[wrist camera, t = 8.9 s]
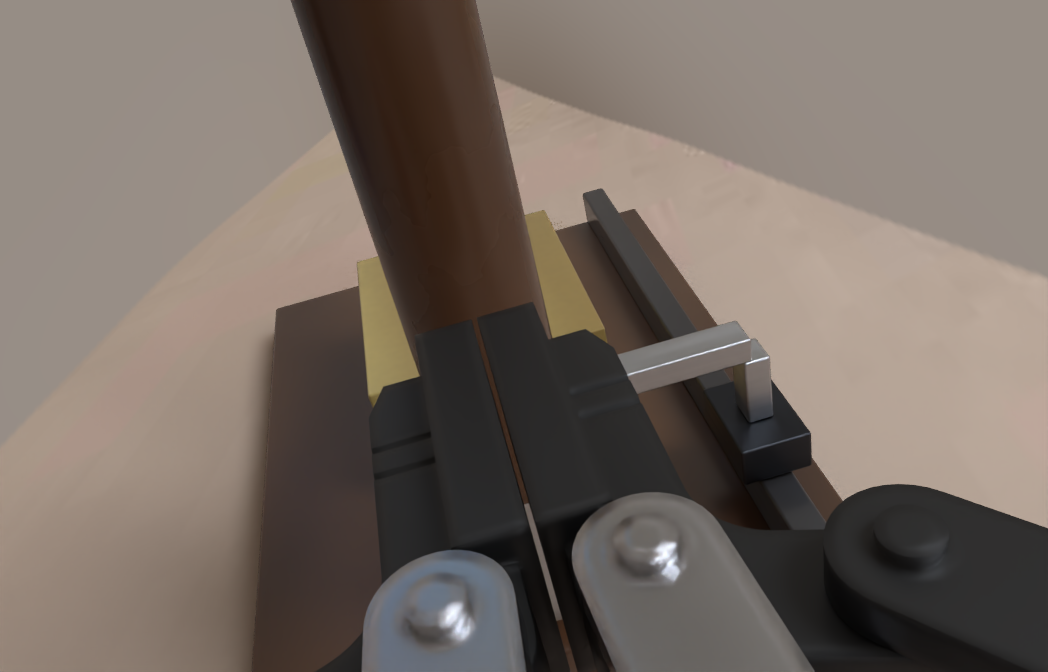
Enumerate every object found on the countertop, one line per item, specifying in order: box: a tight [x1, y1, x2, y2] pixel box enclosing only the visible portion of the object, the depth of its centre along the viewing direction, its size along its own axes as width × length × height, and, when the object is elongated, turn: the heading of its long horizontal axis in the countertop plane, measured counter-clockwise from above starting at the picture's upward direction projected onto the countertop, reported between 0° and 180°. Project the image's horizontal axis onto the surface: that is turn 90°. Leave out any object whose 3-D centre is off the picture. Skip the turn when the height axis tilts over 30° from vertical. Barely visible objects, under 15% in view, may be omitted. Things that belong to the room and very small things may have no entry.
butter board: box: [252, 189, 843, 672], centre depth 26 cm, size 14×18×5 cm
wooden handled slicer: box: [291, 0, 812, 621], centre depth 16 cm, size 8×6×16 cm
